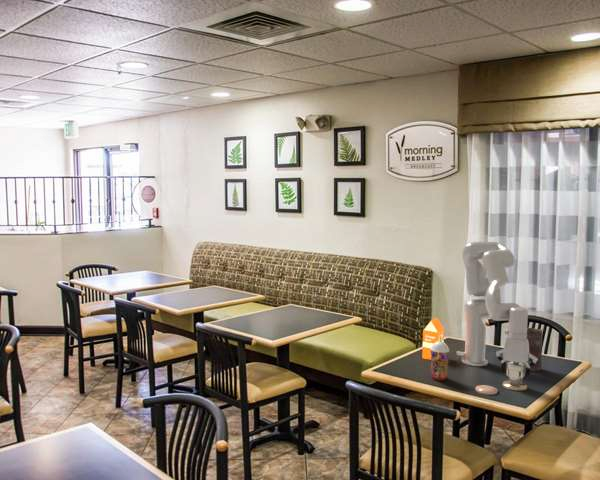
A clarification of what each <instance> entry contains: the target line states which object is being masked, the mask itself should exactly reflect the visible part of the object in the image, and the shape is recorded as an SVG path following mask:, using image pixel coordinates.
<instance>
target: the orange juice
mask: <svg viewBox="0 0 600 480" xmlns="http://www.w3.org/2000/svg"><path fill="white" fill-rule="evenodd" d="M444 329H445V328H444V327H443V325H442V323H441V321H440V319H439V318H438V317H435V318H433V319H431V320H430V321H429V322H428V324H427V325H426V326H425V328H424V329H423V330H422V354H421V355H422V359H424V360H430V361H431V349H430V348H431V347H432V345H433V344H434V343H435V342H437V341H440V335H441V341H442V342H444V335H445V330H444Z"/></svg>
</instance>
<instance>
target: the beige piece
mask: <svg viewBox="0 0 600 480" xmlns="http://www.w3.org/2000/svg"><path fill="white" fill-rule="evenodd" d="M502 387H503V388H505V389H506V390H510V391H515V392H516V391H517V392H524V391H526V390H528V384H526V383H524V382H523V378H521V372H519V379H517V378H512V377H509V375H508V376H507V380H505V381H502Z"/></svg>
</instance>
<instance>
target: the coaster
mask: <svg viewBox="0 0 600 480" xmlns="http://www.w3.org/2000/svg"><path fill="white" fill-rule="evenodd" d="M475 391H476V392H477V393H479V394H481V395H485V396H486V395H487V396H490V395H491V396H492V395H493V396H494V395H496V394H498V392H499V391H498V388H496V387H494V386H491V385H486V384H480V385H476V386H475Z"/></svg>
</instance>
